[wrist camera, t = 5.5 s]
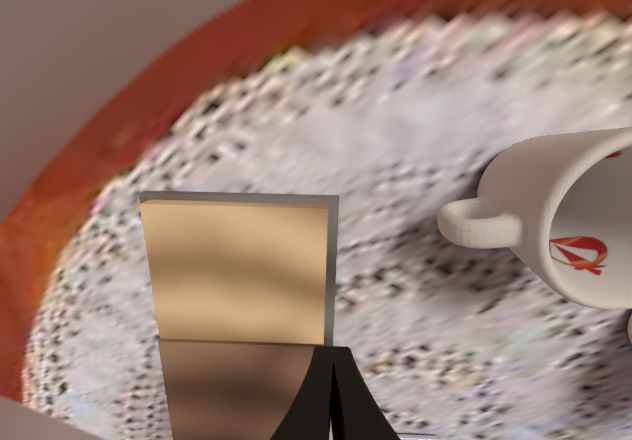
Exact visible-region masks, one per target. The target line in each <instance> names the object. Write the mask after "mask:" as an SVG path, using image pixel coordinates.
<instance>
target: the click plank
mask: <svg viewBox="0 0 632 440" xmlns="http://www.w3.org/2000/svg"><path fill="white" fill-rule="evenodd" d="M140 209H141V215H142V222H143V229H144V235H145V242H146V249H147V256H148V262H149V269H150V276H151V282H152V289H153V296H154V303H155V309H156V316H157V323H158V329H159V336H160V338H162V339H190V340H218V341H246V342H274V343H301V344H324V317H325V286H326V255H327V223H328V204H301V203H263V202H224V201H186V200H148V201H146V202H143V203H141V204H140Z"/></svg>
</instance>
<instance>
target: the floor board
mask: <svg viewBox="0 0 632 440" xmlns="http://www.w3.org/2000/svg"><path fill="white" fill-rule="evenodd" d="M139 199H140V204H141V203H143V202H146V201H148V200H186V201H224V202H263V203H301V204H328V223H327V255H326V286H325V317H324V344H301V343H274V342H246V341H218V340H190V339H162V338H160V339H159V341H158V345H159V351H160V358H161V364H162V370H163V377H164V383H165V390H166V396H167V402H168V409H169V415H170V422H171V428H172V434H173V440H270V438H271V437H272V435H273V434H274V432H275V431H276V429H277V428H278V426H279V425H280V423H281V422H282V420H283V418H284V417H285V415H286V413H287V412H288V410H289V408H290V406H291V404H292V402H293V400H294V399H295V397H296V395H297V393H298V391H299V389H300V387H301V384H302V382H303V380H304V378H305V375H306V373H307V370H308V368H309V365H310V362H311V359H312V355H313V350H314V348H315V347H316V346H333V327H334V303H335V279H336V256H337V232H338V209H339V196H336V195H297V194H258V193H219V192H179V191H143V192H140V193H139Z"/></svg>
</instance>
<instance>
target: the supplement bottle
mask: <svg viewBox="0 0 632 440" xmlns="http://www.w3.org/2000/svg"><path fill="white" fill-rule="evenodd" d="M628 336H629V339H630V342H631V343H632V314H631V316H630V319H629V322H628Z"/></svg>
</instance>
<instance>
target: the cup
mask: <svg viewBox="0 0 632 440" xmlns="http://www.w3.org/2000/svg"><path fill="white" fill-rule="evenodd" d="M437 223H438V228H439V230H440V232H441V234H442V235H443V236H444V237H445V238H446V239H447V240H449V241H450V242H452V243H454V244H457V245H459V246H463V247H467V248H477V249H492V248H504V247H508V248H509V249H510V250H511V251H512V252H513V253H514V254H515V255H516V256H517V257H518V258H520V259H521V260H522V261H523V262H524V263H525V264H526V265H527V266H528V267H529V268H530V269H531V270H532V271H533V272H535V273H536V274H537V275H538V276H539V277H540V278H541V279H542V280H543V281H544V282H545V283H546V284H547V285H548V286H549V287H551V288H552V289H553V290H554V291H555V292H557V293H558V294H560V295H561V296H563V297H564V298H566V299H568V300H570V301H572V302H574V303H577V304H579V305H582V306H586V307H590V308H595V309H603V310H625V309H631V308H632V127H628V128H618V129H608V130H597V131H587V132H577V133H566V134H556V135H547V136H540V137H535V138H530V139H527V140H524V141H521V142H518V143H516V144H514V145H512V146H510V147H509V148H507V149H506V150H504V151H503V152H501V153H500V154H499V155H498V156H497V157H496V158H495V159H494V160H493V161H492V162H491V163H490V164H489V166H488V167H487V168H486V170H485V172H484V173H483V175H482V177H481V180H480V183H479V187H478V192H477V198H471V199H464V200H459V201H453V202H450V203H446V204H444V205H443V206H441V207H440V208H439V211H438V213H437Z"/></svg>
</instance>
